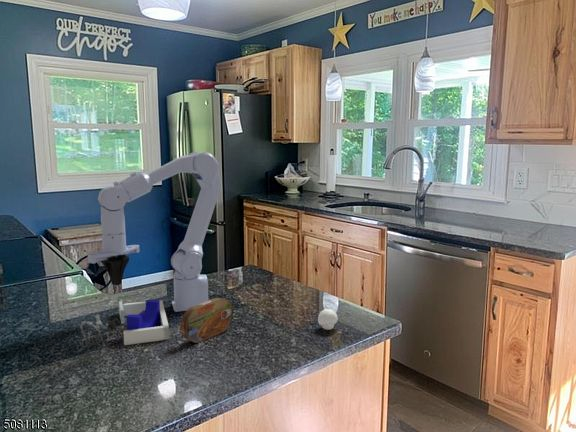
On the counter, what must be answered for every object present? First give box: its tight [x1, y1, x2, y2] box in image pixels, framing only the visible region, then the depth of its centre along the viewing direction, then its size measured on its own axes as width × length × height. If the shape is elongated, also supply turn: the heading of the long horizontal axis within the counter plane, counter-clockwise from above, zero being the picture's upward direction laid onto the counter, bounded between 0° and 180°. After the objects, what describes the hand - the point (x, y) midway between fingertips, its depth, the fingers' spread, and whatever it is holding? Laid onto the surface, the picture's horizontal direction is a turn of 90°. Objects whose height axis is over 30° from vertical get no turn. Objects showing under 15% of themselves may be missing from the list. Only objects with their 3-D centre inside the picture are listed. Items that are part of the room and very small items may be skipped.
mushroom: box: [317, 308, 339, 331], centre depth 109 cm, size 5×5×5 cm
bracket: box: [123, 299, 170, 346], centre depth 110 cm, size 10×20×3 cm, turn 20°
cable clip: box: [125, 299, 160, 330], centre depth 108 cm, size 12×4×6 cm, turn 174°
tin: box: [180, 297, 234, 344], centre depth 105 cm, size 15×3×8 cm, turn 143°
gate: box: [117, 298, 126, 325], centre depth 115 cm, size 1×8×4 cm, turn 24°
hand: (116, 284), depth 114 cm, fingers closed
